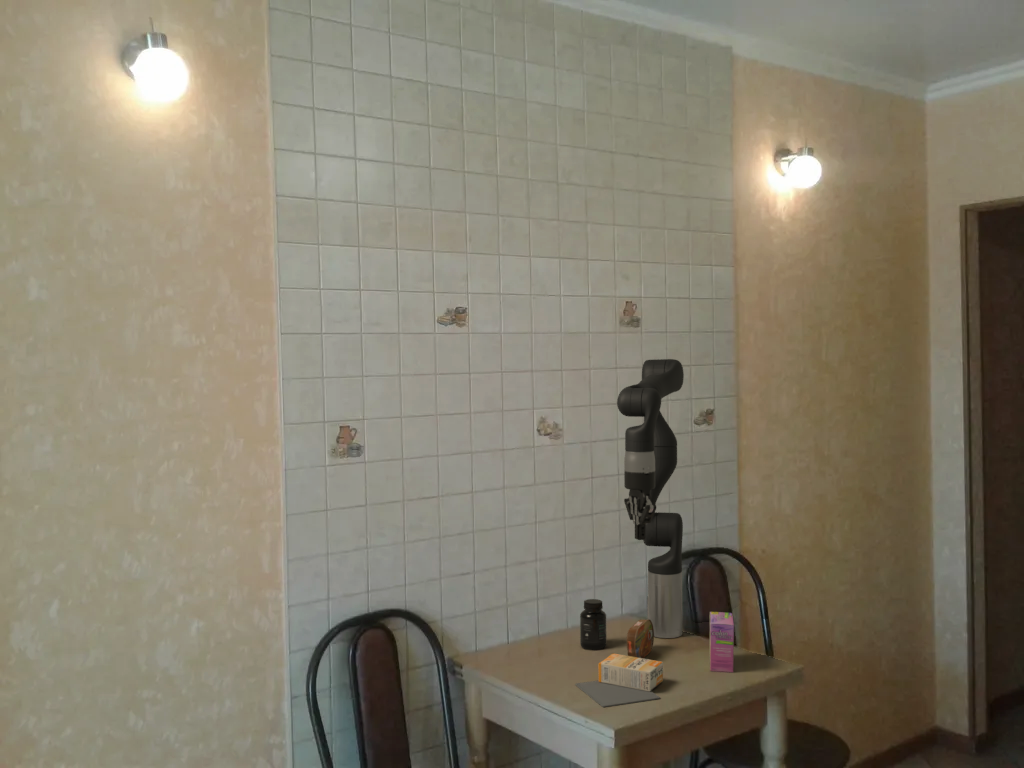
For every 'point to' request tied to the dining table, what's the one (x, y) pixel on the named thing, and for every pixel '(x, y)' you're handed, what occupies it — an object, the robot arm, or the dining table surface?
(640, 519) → the robot arm
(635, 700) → the mat
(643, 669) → the supplement box
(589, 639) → the supplement bottle
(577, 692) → the dining table surface
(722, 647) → the box
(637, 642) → the tin
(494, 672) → the dining table surface
